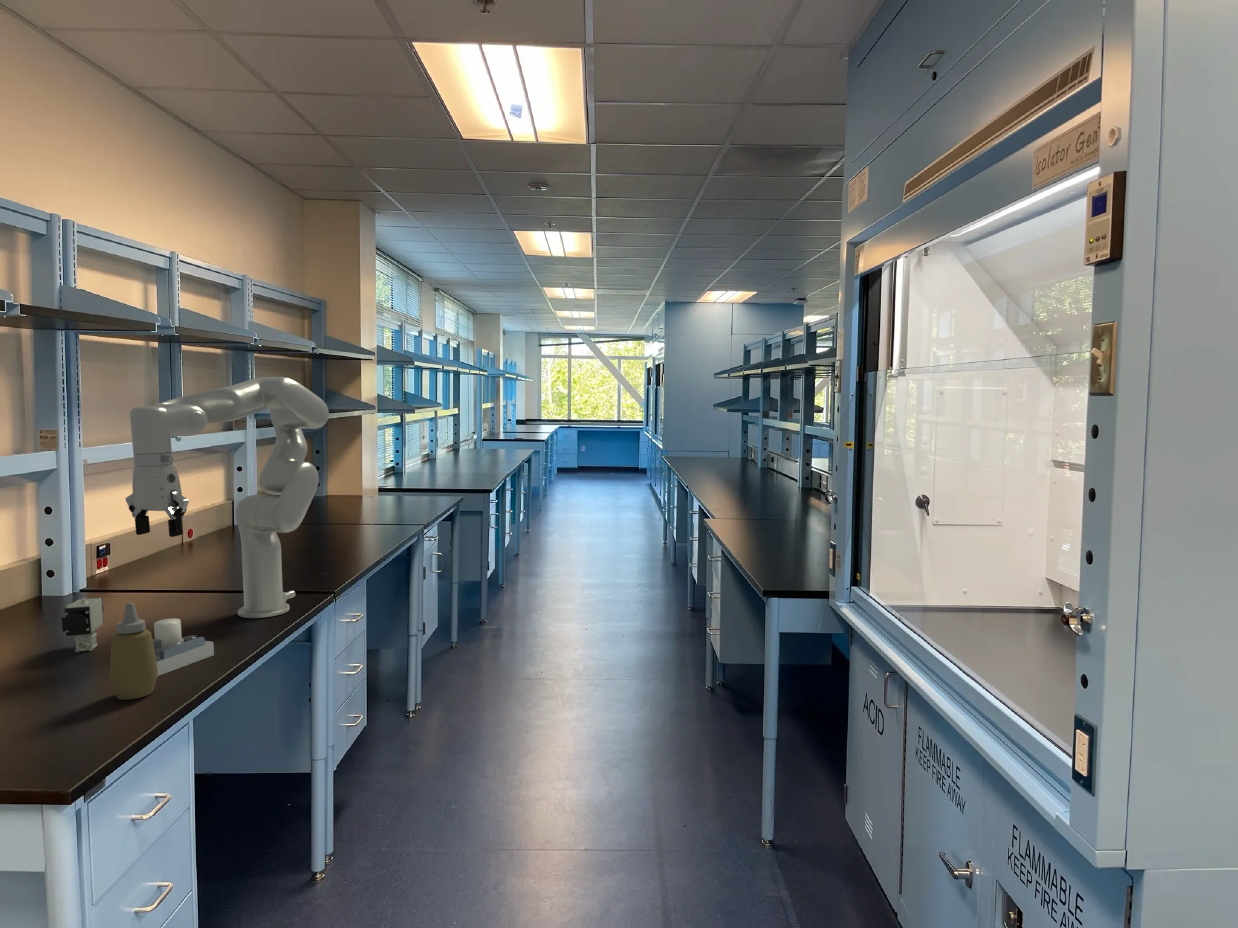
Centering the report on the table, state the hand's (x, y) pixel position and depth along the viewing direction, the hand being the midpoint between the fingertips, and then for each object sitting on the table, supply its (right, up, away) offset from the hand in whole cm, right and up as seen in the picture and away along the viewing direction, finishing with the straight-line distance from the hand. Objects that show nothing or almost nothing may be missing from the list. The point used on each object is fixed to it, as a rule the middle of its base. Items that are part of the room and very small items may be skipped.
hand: (159, 534), depth 177 cm
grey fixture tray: (+8, -27, -10) cm, 30 cm away
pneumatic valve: (-16, -26, -1) cm, 31 cm away
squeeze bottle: (+12, -29, -28) cm, 42 cm away
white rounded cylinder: (+8, -24, -10) cm, 27 cm away
